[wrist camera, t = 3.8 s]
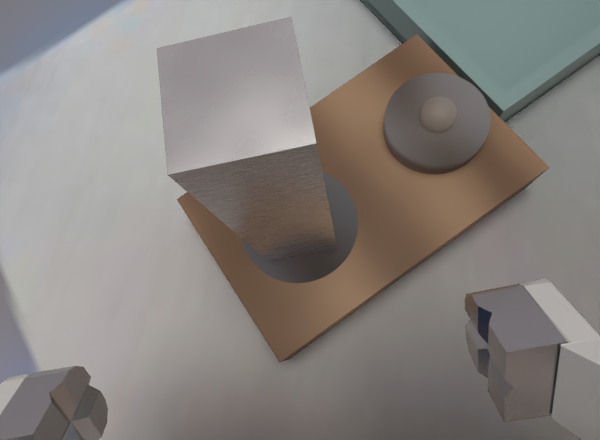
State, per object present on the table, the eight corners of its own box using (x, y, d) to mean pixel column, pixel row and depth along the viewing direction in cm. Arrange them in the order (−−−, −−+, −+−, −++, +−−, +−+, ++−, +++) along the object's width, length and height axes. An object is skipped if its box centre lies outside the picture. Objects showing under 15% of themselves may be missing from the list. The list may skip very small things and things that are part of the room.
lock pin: (324, 185, 22) (291, 16, 10) (337, 249, 21) (316, 143, 9) (260, 198, 22) (156, 48, 10) (270, 262, 21) (167, 174, 9)
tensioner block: (410, 67, 26) (422, 9, 22) (525, 188, 23) (567, 152, 19) (197, 214, 25) (162, 188, 21) (289, 358, 23) (272, 364, 18)
